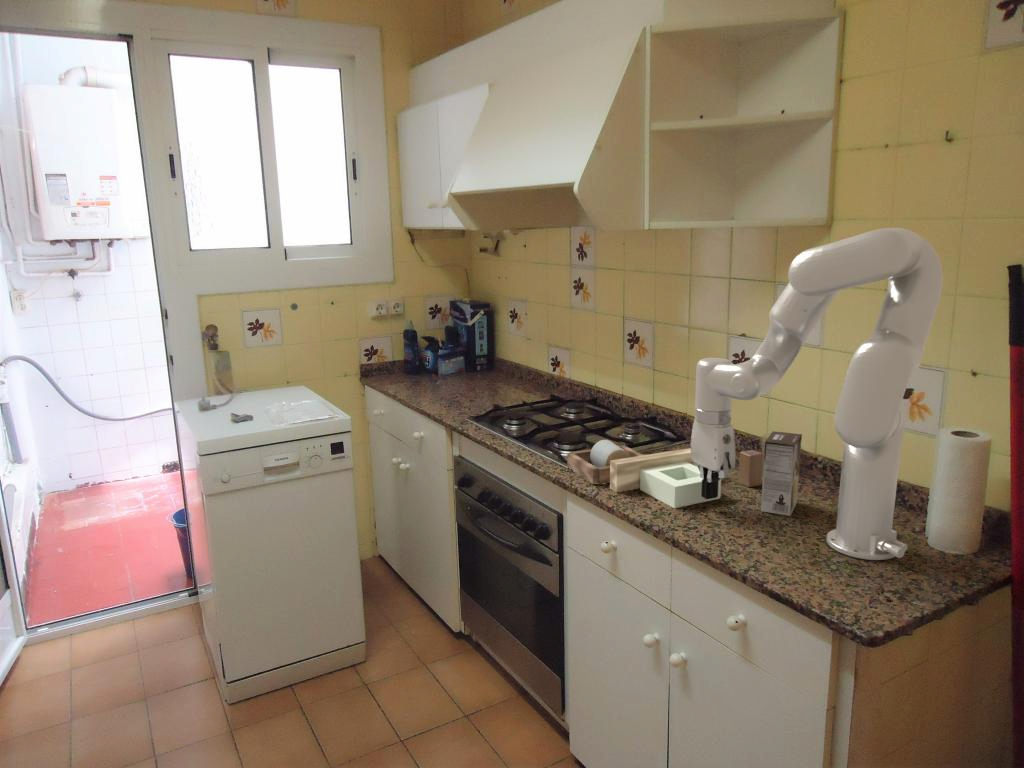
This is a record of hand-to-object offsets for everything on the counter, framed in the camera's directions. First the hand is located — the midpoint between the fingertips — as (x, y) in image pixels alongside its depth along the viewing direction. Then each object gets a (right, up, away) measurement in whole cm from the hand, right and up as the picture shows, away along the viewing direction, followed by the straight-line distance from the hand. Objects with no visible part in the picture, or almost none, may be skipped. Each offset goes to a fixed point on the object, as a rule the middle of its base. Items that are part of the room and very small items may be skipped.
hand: (709, 497), depth 156 cm
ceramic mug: (-17, +2, +26) cm, 31 cm away
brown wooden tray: (-18, +2, +26) cm, 32 cm away
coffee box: (+16, -3, +1) cm, 16 cm away
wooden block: (+14, 0, +16) cm, 21 cm away
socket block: (-4, -1, +10) cm, 11 cm away
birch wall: (-7, +1, +17) cm, 19 cm away
